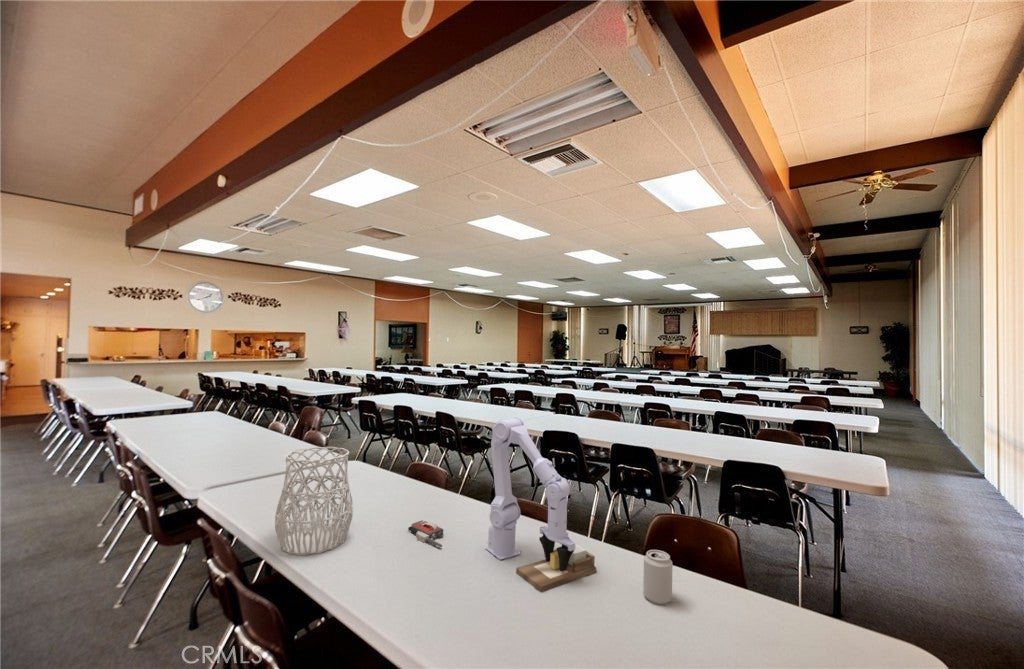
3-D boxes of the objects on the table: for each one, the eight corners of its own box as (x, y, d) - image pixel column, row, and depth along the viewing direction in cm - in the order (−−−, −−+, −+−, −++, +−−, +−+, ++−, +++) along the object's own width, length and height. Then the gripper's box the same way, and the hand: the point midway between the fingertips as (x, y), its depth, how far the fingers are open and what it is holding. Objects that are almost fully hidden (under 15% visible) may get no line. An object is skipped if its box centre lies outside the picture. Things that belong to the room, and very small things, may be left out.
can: (649, 587, 125) (650, 545, 125) (675, 597, 120) (676, 553, 121) (638, 598, 119) (639, 554, 120) (666, 609, 114) (666, 563, 115)
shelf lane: (516, 573, 131) (516, 558, 131) (570, 556, 143) (570, 542, 143) (540, 592, 121) (541, 575, 121) (596, 572, 133) (596, 557, 133)
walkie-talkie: (402, 533, 157) (438, 551, 144) (403, 521, 157) (439, 538, 144) (422, 526, 164) (458, 543, 151) (422, 514, 164) (458, 530, 151)
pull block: (546, 563, 133) (546, 550, 134) (573, 555, 140) (573, 542, 140) (558, 572, 128) (558, 558, 129) (586, 563, 135) (586, 550, 135)
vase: (323, 522, 165) (326, 442, 166) (366, 537, 152) (370, 451, 153) (258, 545, 144) (263, 454, 145) (302, 565, 131) (307, 465, 133)
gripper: (583, 525, 129) (582, 572, 128) (552, 510, 141) (551, 552, 140) (565, 530, 125) (564, 578, 124) (534, 514, 137) (533, 558, 136)
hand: (556, 565), depth 132 cm, fingers open, 6 cm apart
